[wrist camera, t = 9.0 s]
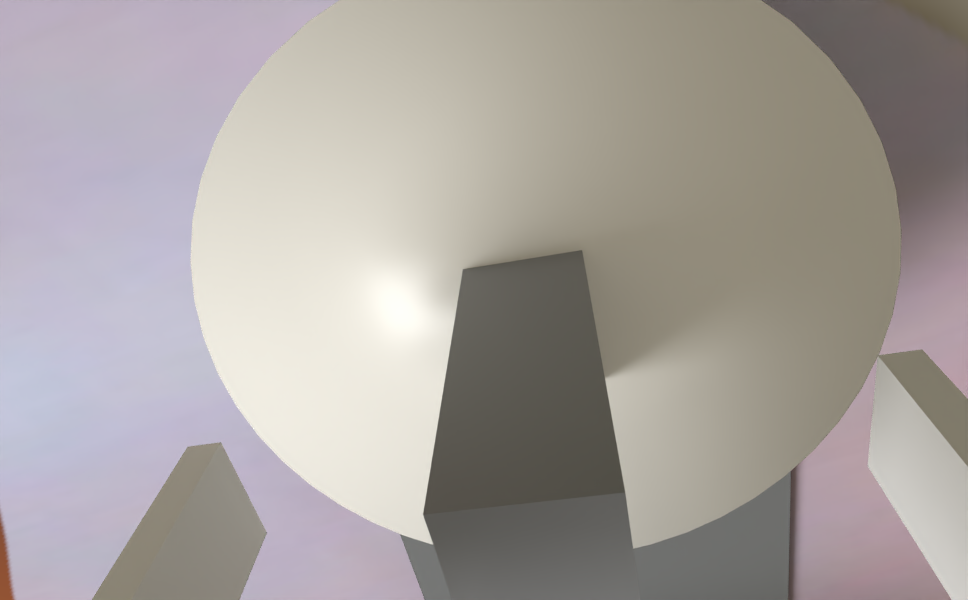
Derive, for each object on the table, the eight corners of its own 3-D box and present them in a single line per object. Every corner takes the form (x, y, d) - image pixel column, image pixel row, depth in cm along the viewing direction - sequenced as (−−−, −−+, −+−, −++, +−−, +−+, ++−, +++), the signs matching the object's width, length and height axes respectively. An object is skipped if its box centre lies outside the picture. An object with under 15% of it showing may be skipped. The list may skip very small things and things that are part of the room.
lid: (839, 471, 23) (1047, 836, 14) (336, 526, 26) (234, 866, 16) (882, -152, 14) (1499, -256, 5) (116, 24, 17) (-352, 158, 8)
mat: (785, 619, 37) (787, 626, 37) (446, 647, 40) (445, 654, 39) (790, 328, 28) (793, 333, 28) (349, 389, 31) (347, 395, 30)
